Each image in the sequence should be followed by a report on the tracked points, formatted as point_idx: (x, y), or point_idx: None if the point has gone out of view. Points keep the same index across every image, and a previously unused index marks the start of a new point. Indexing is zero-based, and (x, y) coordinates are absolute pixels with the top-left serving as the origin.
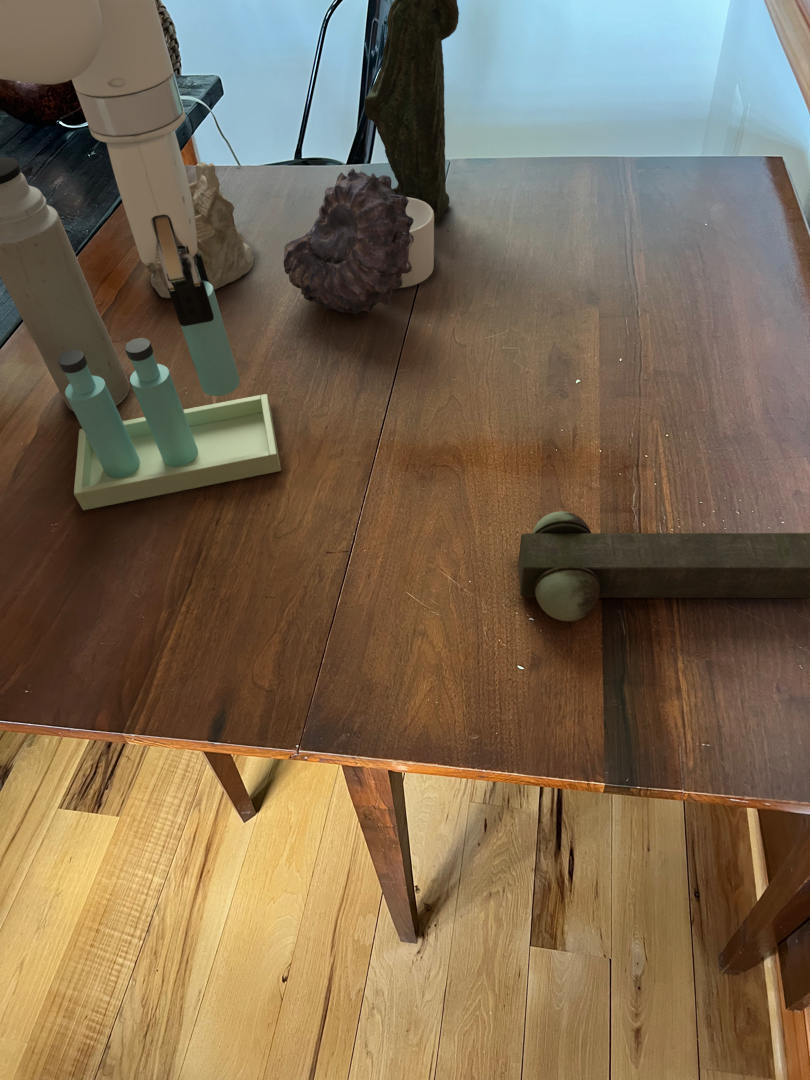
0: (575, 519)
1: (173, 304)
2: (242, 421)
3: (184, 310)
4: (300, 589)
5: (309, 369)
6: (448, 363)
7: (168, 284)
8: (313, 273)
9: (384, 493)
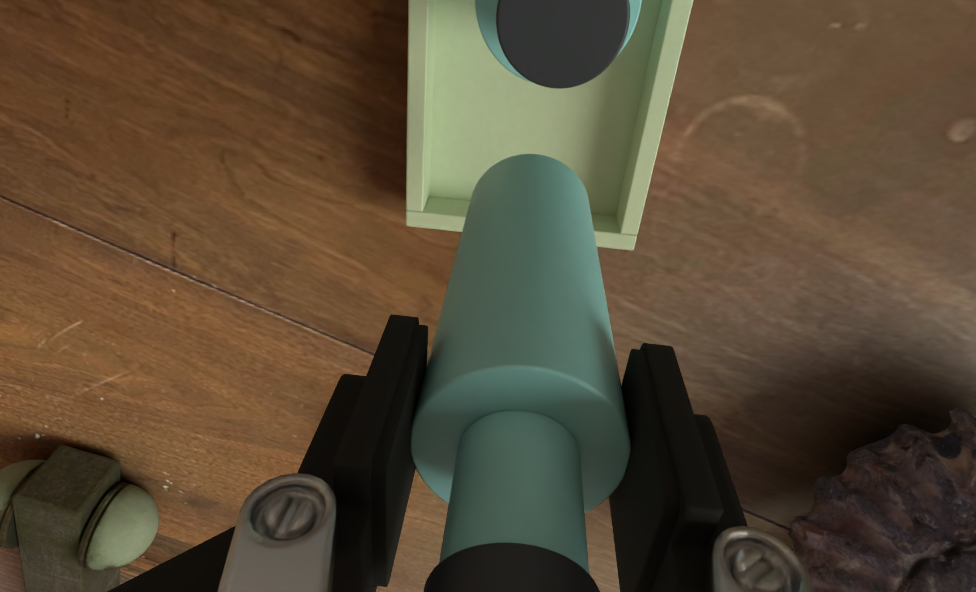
0: (94, 570)
1: (363, 388)
2: (607, 160)
3: (328, 409)
4: (86, 167)
5: (727, 332)
6: (597, 524)
7: (239, 528)
8: (953, 498)
9: (303, 353)
